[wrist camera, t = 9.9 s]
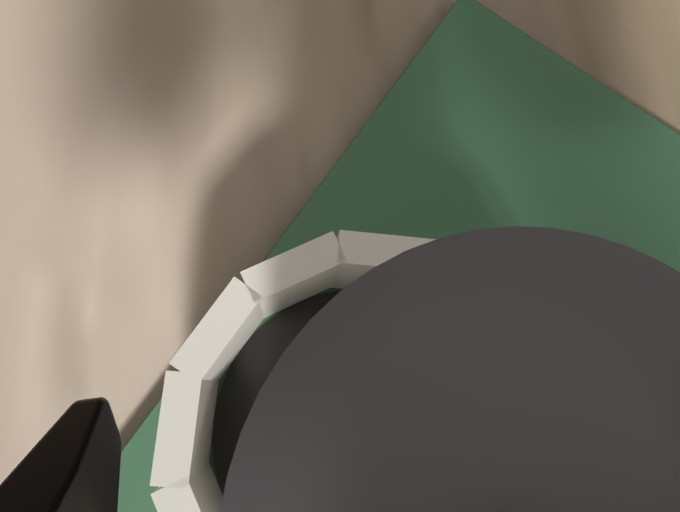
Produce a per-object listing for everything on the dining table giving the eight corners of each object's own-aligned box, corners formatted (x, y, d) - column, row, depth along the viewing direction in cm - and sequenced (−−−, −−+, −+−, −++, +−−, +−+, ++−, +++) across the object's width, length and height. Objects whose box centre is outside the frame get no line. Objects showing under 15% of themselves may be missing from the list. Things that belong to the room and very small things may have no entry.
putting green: (952, 328, 19) (1124, 313, 15) (709, 975, 15) (868, 1193, 11) (457, 3, 20) (500, -90, 16) (80, 513, 16) (10, 556, 12)
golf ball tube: (462, 361, 17) (861, 300, 5) (431, 551, 16) (865, 1023, 4) (288, 321, 17) (303, 166, 5) (244, 511, 15) (126, 890, 4)
